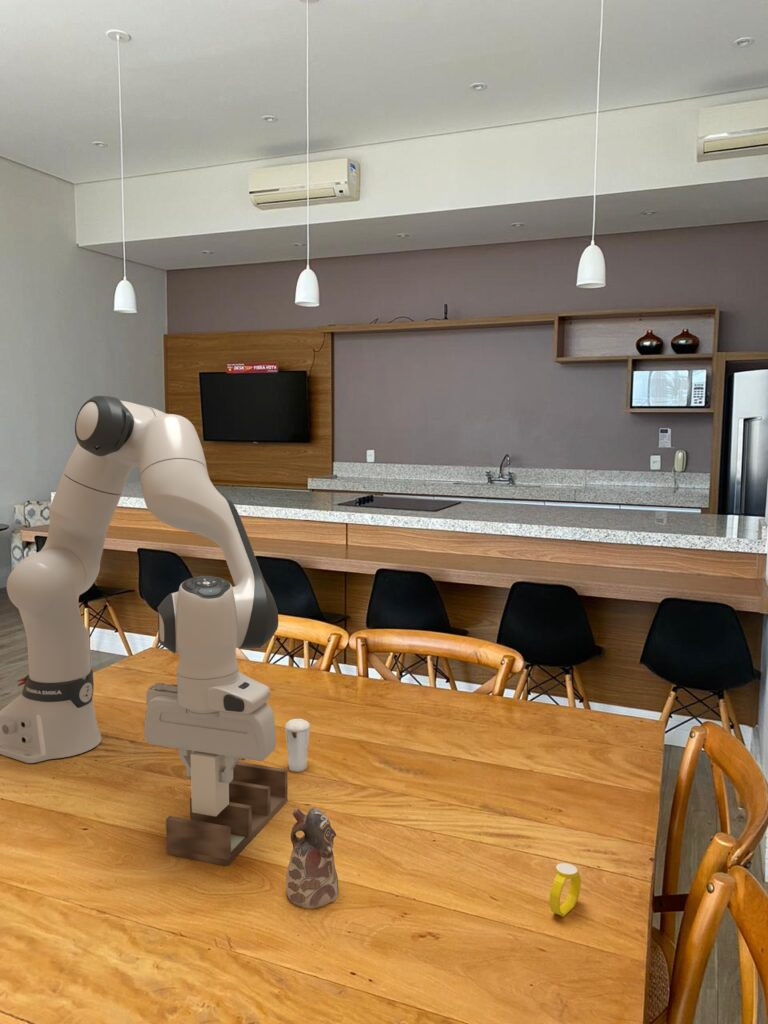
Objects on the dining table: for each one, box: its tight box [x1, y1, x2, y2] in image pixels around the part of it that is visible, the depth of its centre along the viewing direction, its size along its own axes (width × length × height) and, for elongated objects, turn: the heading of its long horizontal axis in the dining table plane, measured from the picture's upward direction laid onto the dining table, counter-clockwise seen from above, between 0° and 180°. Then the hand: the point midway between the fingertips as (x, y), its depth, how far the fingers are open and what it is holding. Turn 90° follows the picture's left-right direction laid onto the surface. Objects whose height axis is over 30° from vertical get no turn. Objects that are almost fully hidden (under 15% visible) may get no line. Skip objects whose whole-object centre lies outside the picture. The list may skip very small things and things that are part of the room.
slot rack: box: [165, 761, 289, 867], centre depth 126 cm, size 10×21×6 cm, turn 163°
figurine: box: [285, 807, 340, 910], centre depth 108 cm, size 7×7×12 cm
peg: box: [190, 751, 229, 816], centre depth 119 cm, size 4×4×9 cm
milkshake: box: [284, 716, 314, 773], centre depth 146 cm, size 4×5×10 cm
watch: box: [548, 862, 582, 918], centre depth 105 cm, size 6×3×6 cm, turn 139°
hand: (209, 778), depth 119 cm, fingers closed on peg, 4 cm apart
